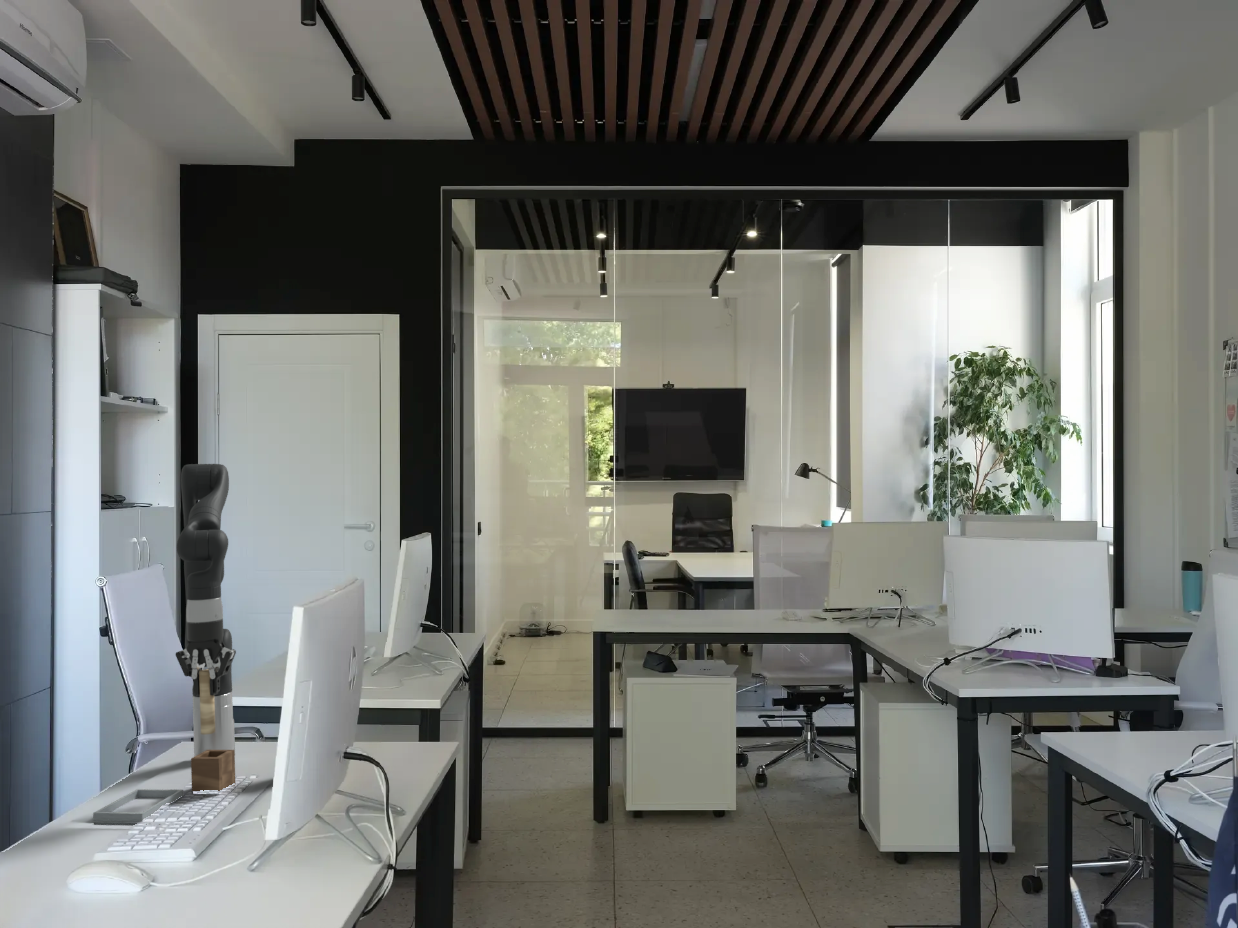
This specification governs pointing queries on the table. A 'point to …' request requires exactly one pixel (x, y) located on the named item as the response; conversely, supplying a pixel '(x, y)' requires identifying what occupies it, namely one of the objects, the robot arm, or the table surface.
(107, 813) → the grey tray
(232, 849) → the table surface
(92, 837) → the table surface
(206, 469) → the robot arm
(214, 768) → the walnut holder
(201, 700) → the birch dowel
